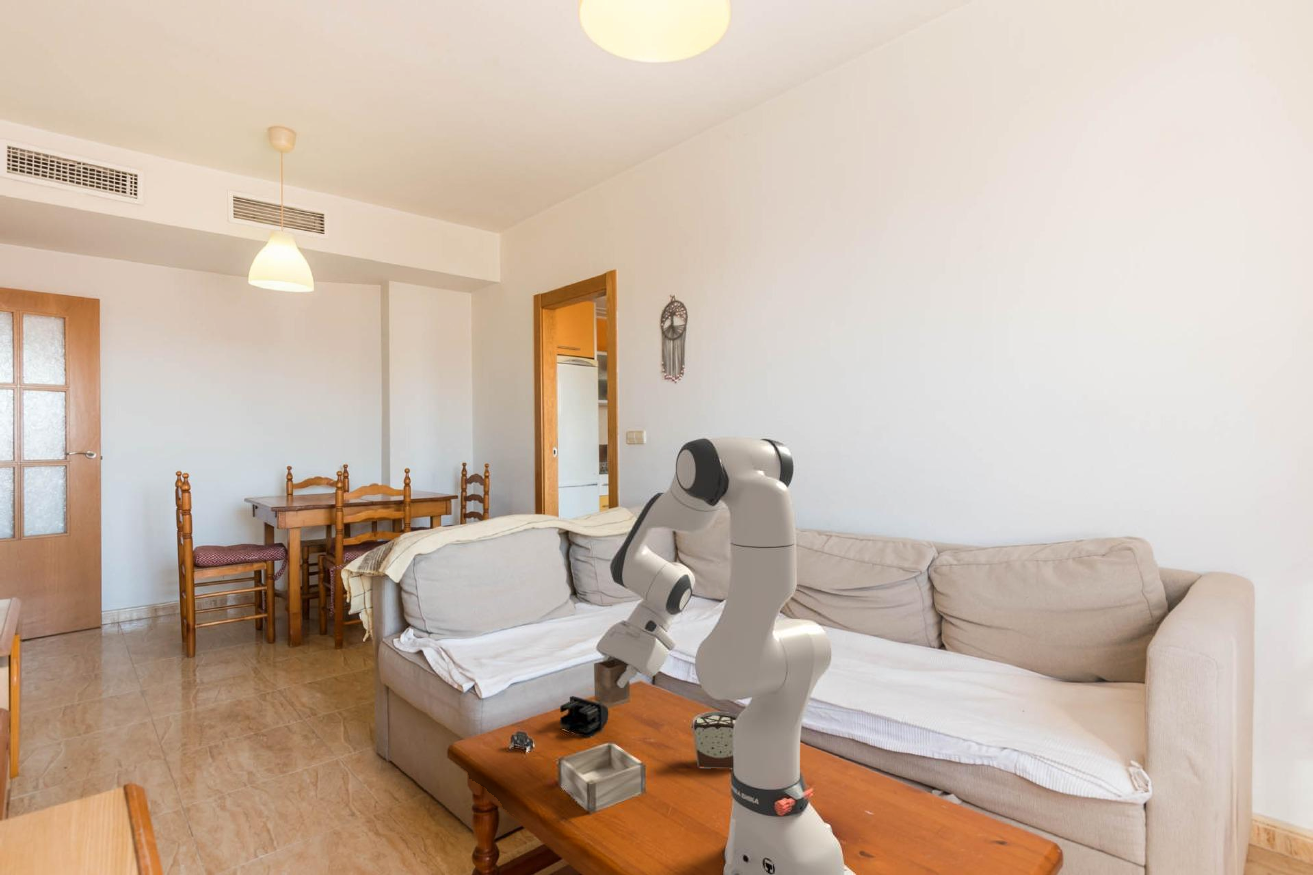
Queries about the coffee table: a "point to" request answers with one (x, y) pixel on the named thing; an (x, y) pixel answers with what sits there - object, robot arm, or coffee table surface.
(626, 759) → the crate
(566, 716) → the end cap
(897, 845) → the coffee table surface
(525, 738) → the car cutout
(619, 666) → the small crate
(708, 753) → the food container
